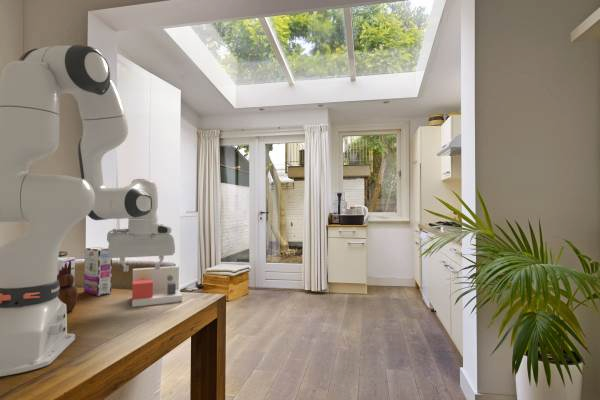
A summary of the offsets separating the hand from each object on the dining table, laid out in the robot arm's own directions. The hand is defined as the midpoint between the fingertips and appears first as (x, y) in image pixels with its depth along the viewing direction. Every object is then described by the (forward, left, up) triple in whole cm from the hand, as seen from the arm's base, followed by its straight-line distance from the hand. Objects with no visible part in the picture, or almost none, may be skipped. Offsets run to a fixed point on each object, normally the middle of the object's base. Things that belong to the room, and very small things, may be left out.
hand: (142, 270), depth 113 cm
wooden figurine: (-1, +21, -11) cm, 24 cm away
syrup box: (+13, +24, -11) cm, 30 cm away
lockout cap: (+1, 0, -9) cm, 9 cm away
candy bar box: (+21, +14, -11) cm, 28 cm away
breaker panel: (+2, -5, -11) cm, 12 cm away
